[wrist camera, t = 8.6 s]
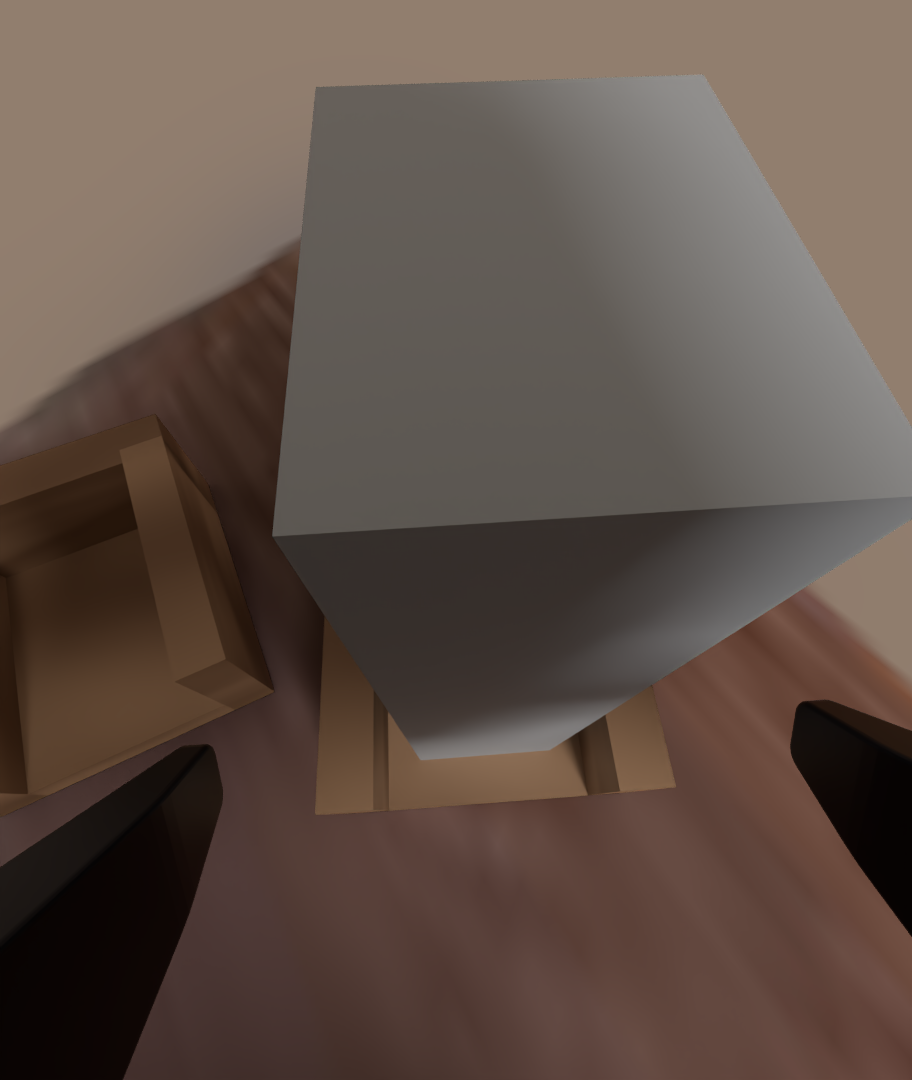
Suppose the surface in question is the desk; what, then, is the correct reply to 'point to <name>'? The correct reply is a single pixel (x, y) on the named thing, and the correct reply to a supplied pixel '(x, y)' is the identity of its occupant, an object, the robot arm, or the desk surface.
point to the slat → (561, 400)
